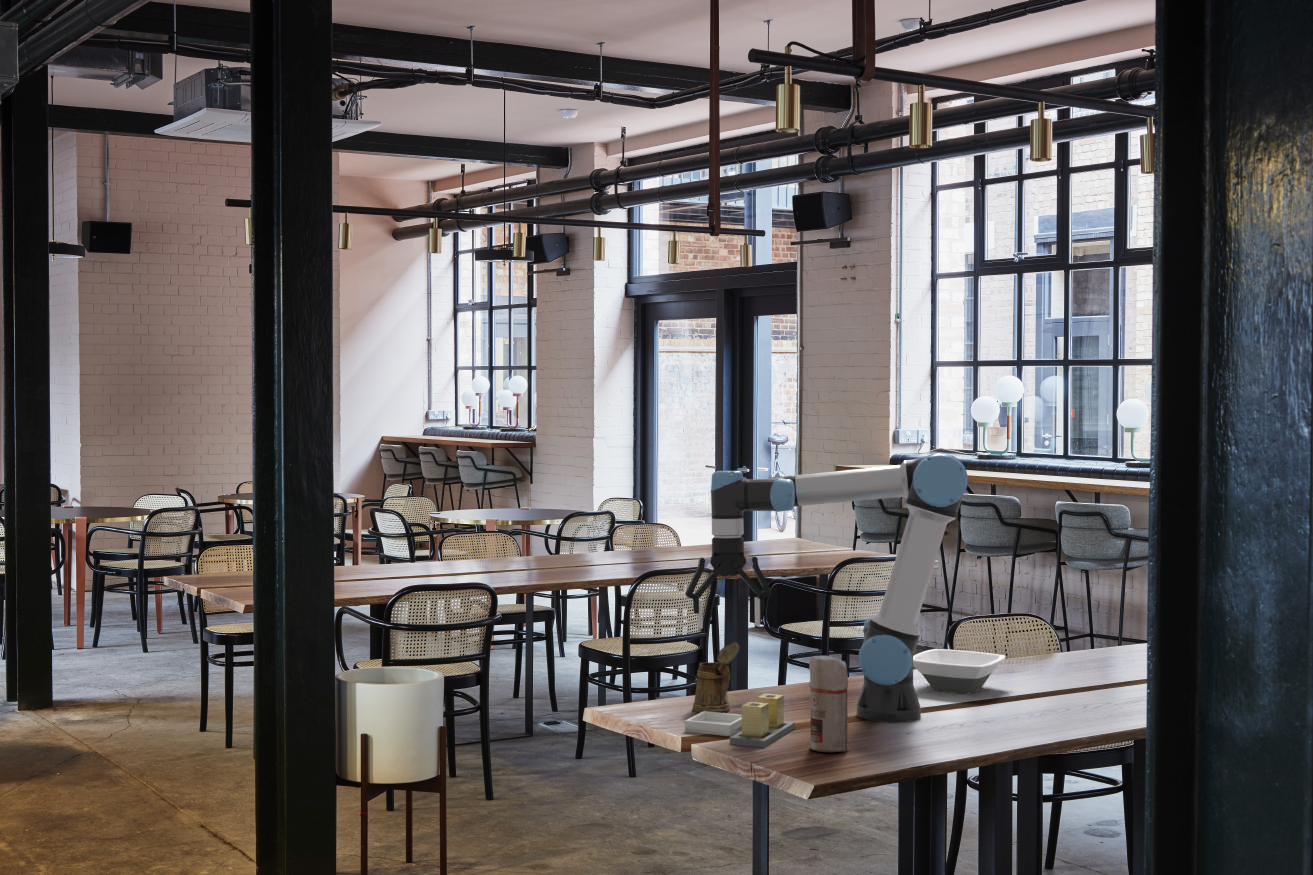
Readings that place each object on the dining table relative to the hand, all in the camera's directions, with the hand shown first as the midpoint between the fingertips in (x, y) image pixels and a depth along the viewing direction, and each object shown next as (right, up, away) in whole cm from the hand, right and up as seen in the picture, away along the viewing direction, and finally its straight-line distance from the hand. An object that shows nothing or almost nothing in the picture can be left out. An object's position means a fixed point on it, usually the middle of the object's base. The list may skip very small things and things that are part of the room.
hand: (729, 626), depth 300 cm
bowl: (+63, -22, +38) cm, 76 cm away
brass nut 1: (+5, -22, -20) cm, 30 cm away
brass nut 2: (+9, -22, -11) cm, 26 cm away
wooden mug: (-2, -22, +10) cm, 24 cm away
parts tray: (-3, -22, -9) cm, 24 cm away
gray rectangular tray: (+7, -22, -15) cm, 28 cm away
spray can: (+20, -22, -28) cm, 41 cm away
